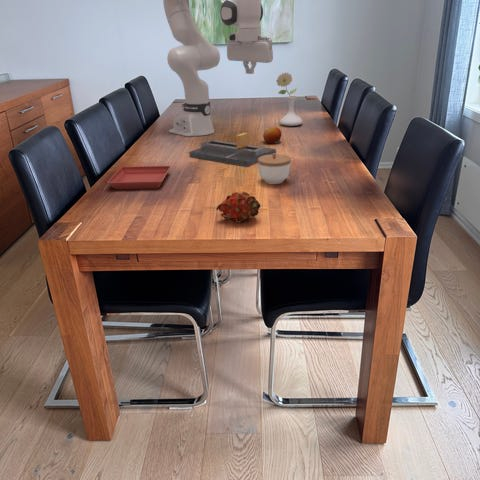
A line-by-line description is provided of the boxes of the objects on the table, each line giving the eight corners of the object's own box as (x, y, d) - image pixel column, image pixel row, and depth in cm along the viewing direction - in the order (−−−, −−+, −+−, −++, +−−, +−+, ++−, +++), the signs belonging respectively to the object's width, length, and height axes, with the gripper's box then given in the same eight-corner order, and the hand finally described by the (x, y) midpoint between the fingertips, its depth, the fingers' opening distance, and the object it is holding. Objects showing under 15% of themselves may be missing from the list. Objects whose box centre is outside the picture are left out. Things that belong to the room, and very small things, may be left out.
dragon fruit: (264, 226, 127) (221, 232, 129) (262, 200, 131) (220, 206, 133) (259, 210, 120) (213, 216, 122) (257, 183, 124) (213, 189, 126)
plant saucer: (122, 175, 170) (121, 166, 168) (171, 174, 169) (171, 165, 167) (108, 192, 153) (106, 182, 152) (162, 191, 152) (161, 181, 151)
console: (189, 156, 187) (188, 146, 185) (220, 145, 202) (219, 136, 200) (247, 166, 172) (247, 156, 170) (275, 153, 187) (275, 144, 185)
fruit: (284, 141, 198) (275, 125, 196) (268, 151, 201) (259, 134, 199) (286, 137, 205) (277, 121, 203) (271, 146, 208) (262, 130, 206)
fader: (236, 152, 182) (236, 135, 179) (244, 149, 186) (243, 132, 183) (241, 153, 181) (240, 135, 178) (248, 150, 185) (247, 133, 182)
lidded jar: (281, 188, 150) (281, 159, 146) (252, 183, 155) (251, 155, 151) (295, 178, 158) (296, 151, 154) (267, 174, 163) (267, 148, 159)
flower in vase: (302, 122, 239) (303, 70, 228) (302, 127, 228) (304, 73, 218) (276, 122, 240) (276, 71, 229) (275, 127, 230) (275, 74, 219)
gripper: (276, 36, 179) (275, 74, 185) (233, 35, 190) (234, 71, 196) (267, 37, 174) (267, 76, 181) (224, 36, 185) (225, 72, 192)
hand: (249, 73), depth 188 cm, fingers closed
